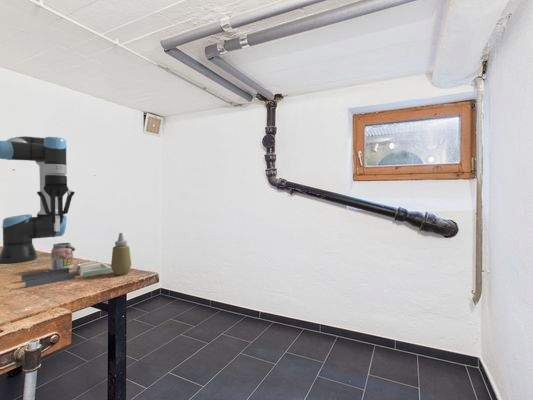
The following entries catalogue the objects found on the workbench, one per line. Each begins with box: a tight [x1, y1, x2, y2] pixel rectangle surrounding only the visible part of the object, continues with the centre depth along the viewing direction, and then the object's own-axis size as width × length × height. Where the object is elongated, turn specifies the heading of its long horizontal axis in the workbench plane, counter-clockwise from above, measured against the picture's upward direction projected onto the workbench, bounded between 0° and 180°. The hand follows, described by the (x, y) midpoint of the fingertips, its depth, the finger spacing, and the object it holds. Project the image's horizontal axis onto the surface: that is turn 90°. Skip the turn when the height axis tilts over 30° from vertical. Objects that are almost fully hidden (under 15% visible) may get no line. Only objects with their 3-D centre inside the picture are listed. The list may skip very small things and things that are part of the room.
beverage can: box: [50, 242, 76, 271], centre depth 134 cm, size 9×8×12 cm
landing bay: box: [75, 262, 113, 278], centre depth 130 cm, size 12×11×2 cm
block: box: [76, 261, 102, 277], centre depth 129 cm, size 6×8×4 cm
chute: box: [20, 268, 76, 288], centre depth 118 cm, size 11×16×2 cm
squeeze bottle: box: [110, 232, 132, 276], centre depth 127 cm, size 8×8×18 cm
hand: (57, 230), depth 122 cm, fingers closed
